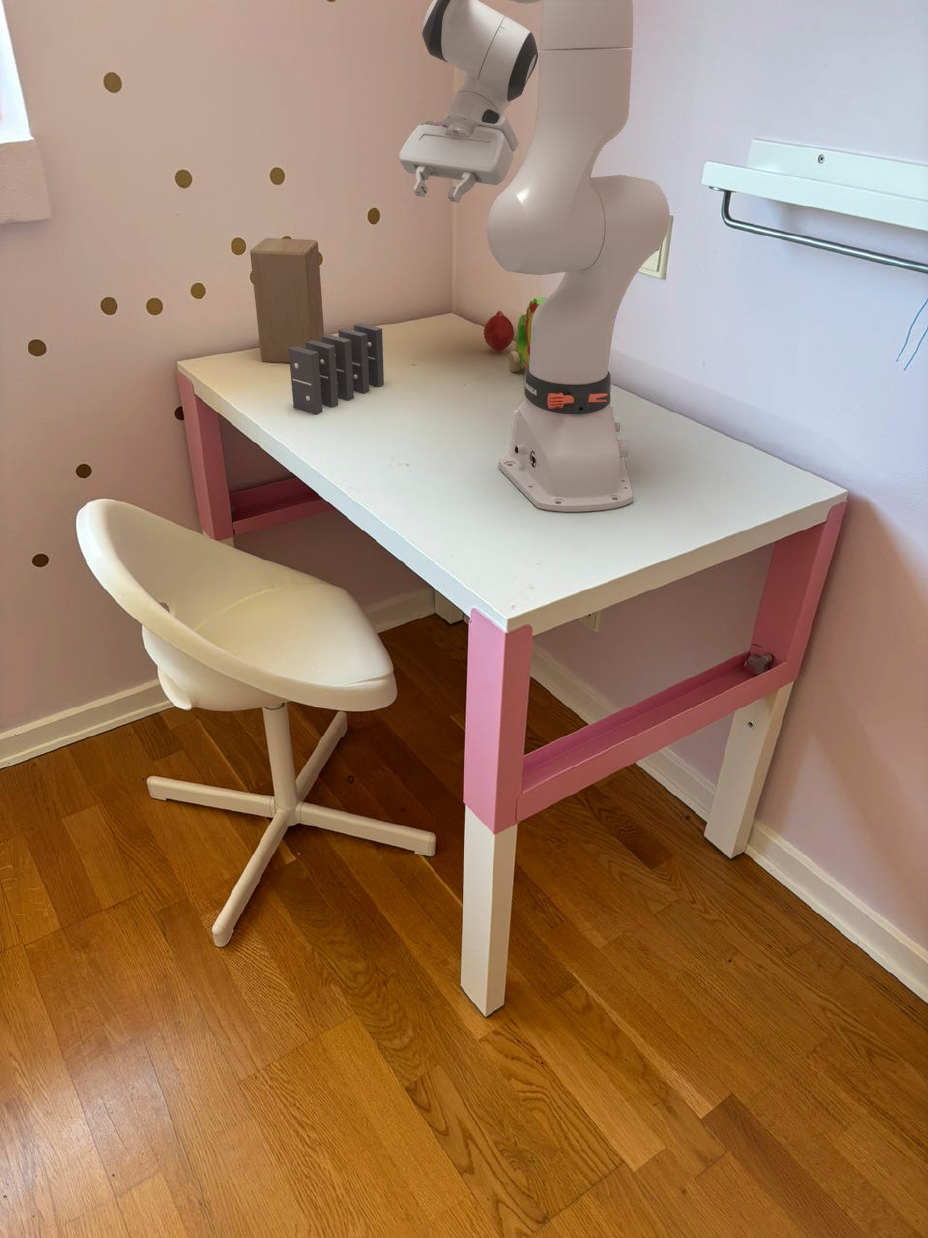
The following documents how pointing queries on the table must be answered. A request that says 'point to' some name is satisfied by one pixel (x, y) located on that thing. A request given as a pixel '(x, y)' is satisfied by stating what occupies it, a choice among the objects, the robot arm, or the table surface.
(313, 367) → the domino
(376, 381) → the domino
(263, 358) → the wooden block
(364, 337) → the domino
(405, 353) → the table surface
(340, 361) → the domino
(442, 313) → the table surface
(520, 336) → the toy lion
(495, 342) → the onion
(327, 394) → the domino
